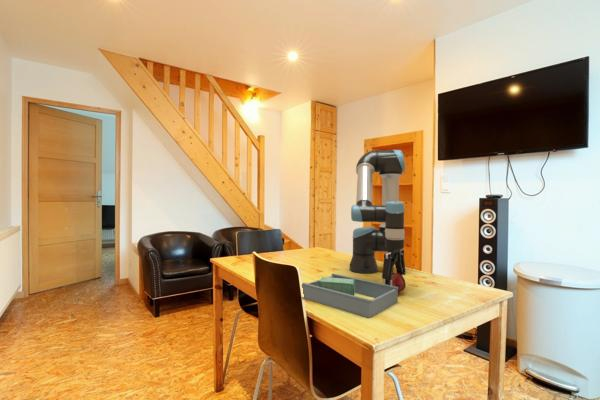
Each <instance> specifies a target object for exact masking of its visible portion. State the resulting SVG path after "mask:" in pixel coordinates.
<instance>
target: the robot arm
mask: <svg viewBox="0 0 600 400" xmlns="http://www.w3.org/2000/svg"><path fill="white" fill-rule="evenodd" d="M404 155H405V154H404V152H403V151H402V150H400V149H385V150H374V149H373V150H370V151H367V152H366V153H365V154H363V155H362V156H360V158H359V159H358V161H357V163H356V166H355V173H356V175H357V179H356V182H357V183H356V199H355V200H356V201H355V204H352V206H351V209H350V217H351V218H350V219H351V221H353V222H356V223H357V222H359V223H381V224H379V226H378V229H376V227H375V226H363V227H357V228H355V229H354V230H353V231H352V256H351V259H350V263H349V268H348V269H349V271H350V272H353V273H359V274H374V273H377V272H379V267H378V262H377V260H376V256H375V254H376V252H380V253H381V252H383V253H384V254H383V266H382V273H381V274H382V275H381V278H382V279H385V284H386V285H391V286H392V280H391V277H392V272H394V267H395V270H396V273H398V274H400V275H402V276H403V277H404V276H405V275H406V263H405V262H406V261H405V250H404V248H405V235H406V233H405V232H406V231H405V203H404V201H400V194H399V193H400V192H399V191H400V179H401V177H402V176H403V173H405V171H406V164H405V163H406V162H405V157H404ZM375 173H378V174H379V175H378V176H379V177H380V178H381V179H382V180H381V204H380V205H377V204H376V205H374V204H373V183H374V182H373V177H374V174H375Z"/></svg>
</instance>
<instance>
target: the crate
mask: <svg viewBox="0 0 600 400" xmlns="http://www.w3.org/2000/svg"><path fill="white" fill-rule="evenodd" d="M329 277H331V278H343V279H354V280H355V294H358V295H363V296H367V297H372V299H370V298H369V299H368V298H365V297H362V296H357V295H350V294H346V293H342V292H338V291H334V290H330V289H327V288H323V287H319V281H320V279H318V280H315V281H311V282H308V283H306V282H301V283H302V285H301V289H302V288H303V294H304V298H303V299H304V300H305V299H306V300H309V301H312V302H315V303H318V304H320V305H325V306H328V307H331V308H335V309H339V310H341V311H345V312H348V313H352V314H355V315H359V316H362V317H365V318H367V319H370V318H372V317H374V316H376V315H377V314H379V313H381V312H383V311H385V310H386V309H388V308H390V307H391V306H393V305H395V304H397V303H398V301H399V299H398V297H399V293H398V287H395V286H391V285H386V284H383V283H380V282H375V281H371V280H366V279H360V278H356V277H354V276H353V277H352V276H346V275H342V274H338V273H331V275H329Z"/></svg>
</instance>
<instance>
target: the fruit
mask: <svg viewBox="0 0 600 400" xmlns="http://www.w3.org/2000/svg"><path fill="white" fill-rule="evenodd" d="M382 279H383V278H382ZM391 280H392V286H395V287H398V294H400V293H401V292H403V291H404V290H406V280H405V277H404V275H403V276H402V275H400V274H398V273H397V272H395V271H393V272H392V277H391ZM382 284H385V279H383V281H382Z"/></svg>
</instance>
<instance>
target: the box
mask: <svg viewBox="0 0 600 400" xmlns="http://www.w3.org/2000/svg"><path fill="white" fill-rule="evenodd" d="M319 280H320V281H319V287H323V288H327V289H330V290H334V291H338V292H342V293H346V294H350V295H354V296H356V293H355V280H354V279H343V278H331V277H330V276H322V277H321V278H320V279H319Z"/></svg>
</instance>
